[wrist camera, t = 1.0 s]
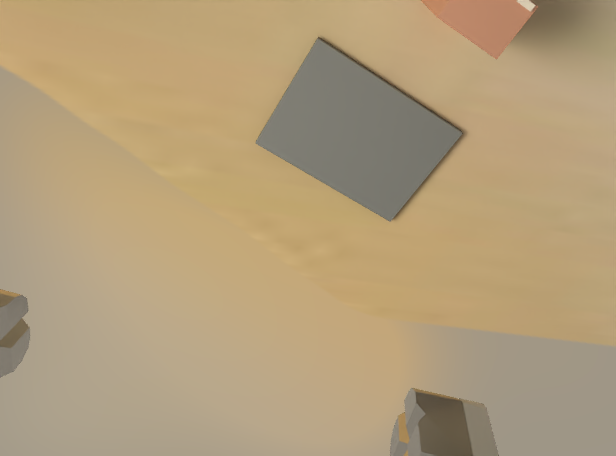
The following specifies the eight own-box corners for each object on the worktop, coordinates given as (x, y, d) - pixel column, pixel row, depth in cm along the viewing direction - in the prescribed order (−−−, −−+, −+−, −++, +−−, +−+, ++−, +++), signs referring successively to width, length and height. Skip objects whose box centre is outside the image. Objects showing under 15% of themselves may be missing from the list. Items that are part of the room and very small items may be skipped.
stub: (418, -3, 38) (438, 18, 30) (448, -49, 37) (478, -40, 29) (466, 31, 39) (497, 60, 31) (497, -12, 38) (539, 7, 30)
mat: (256, 140, 45) (255, 143, 44) (318, 37, 40) (317, 38, 40) (389, 218, 48) (390, 221, 47) (461, 130, 43) (462, 133, 43)
